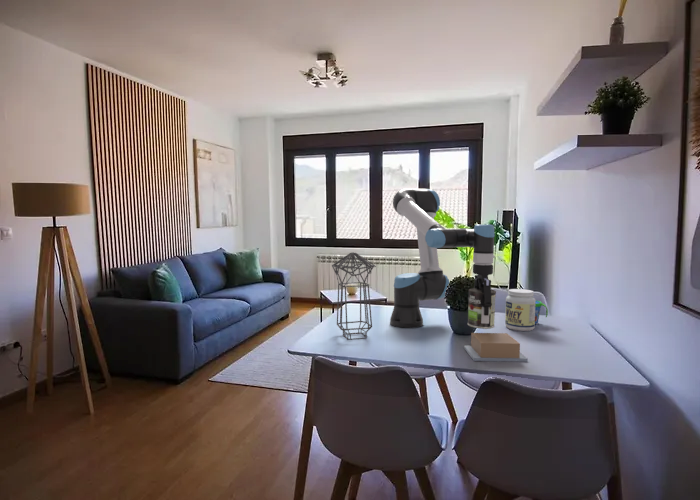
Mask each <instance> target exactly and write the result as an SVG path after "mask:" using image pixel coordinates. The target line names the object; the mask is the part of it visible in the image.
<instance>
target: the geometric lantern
mask: <svg viewBox="0 0 700 500" xmlns="http://www.w3.org/2000/svg"><path fill="white" fill-rule="evenodd" d="M357 259H358V260H359V263H358V262H357ZM350 264H351V265H350ZM349 265H350V266H349ZM363 265H365V266H363ZM331 267H332V270H333V272H334V274H335V275H336V279H337V304H336V305H337V309H336V311H337V312H336V326H337V327H338V328H339V330H340V331H342V335H343V336H344V338H346V340H347V341H349V340H350V341H351V340H352V341H353V340H362V339H367V338H368V336H367V335H368V334H367V333H368V332H369V331H370V330H371V329H372V328H373V322H372V321H373V320H372V309H371V308H372V307H371V298H370V297H371V295H370V283H368V281H369V275H371V274H372V271H373V269H374V268H376V267H377V265H375V264H374V263H372V262H371V261H370V260H368V259H366V258H364V257H363V256H361V255H360V254H358V253H357V252H349V253H348V254H347V255H345V256H344V257H342V258H341V259H340V260H337V261H336V262H335V263H333V264H331ZM349 269H350V270H351V271H349ZM362 269H364V270H363V271H361V270H362ZM340 270H341V271H343V272H345V275H344V277H343V280H342V279H341V277H340V274H339V272H340ZM357 270H358V273H356V274H355V272H356V271H357ZM365 272H366V276H365V278H363V276H362V274H363V273H365ZM347 274H348V275H350V276H349V278H348V280H347V281H346V282H344V281H345V279H346V277H347V276H348V275H347ZM357 276H360V278H361V280H362V282H361V281H360V280H359V278H358V277H357ZM352 277H355V278H356V280H357V281H358V282H349V281H350V279H351V278H352ZM339 281H340V282H339ZM347 284H350V285H347ZM351 284H359V285H351ZM353 287H355V288H356V287H359V321H358V320H355V321H348V308H347V305H348V303H347V302H348V301H347V288H353ZM362 288H363V290H362ZM362 291H363V303H364V316H365V318H364V320H362ZM343 294H344V295H343ZM367 295H368V297H367ZM343 299H344V305H345V308H344V309H345V321H344V322H343ZM339 303H340V304H339ZM339 305H340V311H339ZM368 309H369V310H368ZM339 313H340V314H339ZM369 318H370V319H369ZM354 323H355V324H356V323H359V327H356V328H355V327H354V328H353V327H350V328H348V324H354ZM362 323H364V324H363V325H362V327H361V324H362ZM343 325H345V328H344V326H343ZM366 325H367V327H365V326H366ZM352 330H353V331H356V330H357V331H358V332H350V331H352ZM362 331H363V332H362ZM360 334H361V335H363V336H364V337H355V338H352V335H360ZM346 335H347V336H346Z"/></svg>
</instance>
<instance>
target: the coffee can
mask: <svg viewBox="0 0 700 500" xmlns="http://www.w3.org/2000/svg"><path fill="white" fill-rule="evenodd" d="M496 294H497V291H496V290H494V289H492V288H491V300H492V306H490V309H489V324H484V323H481V315H482V307H481V305H483V303H482V296H484V293H482V292H481V290H480V289H476V288H474V287H473V288H469V289H468V302H467V303H468V306H467V307H468V309H467V310H468V311H467V326H469V327H471V328H475V329H483V330H487V329H488V330H490V329H493V328H495V317H496V314H495V313H496Z"/></svg>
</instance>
